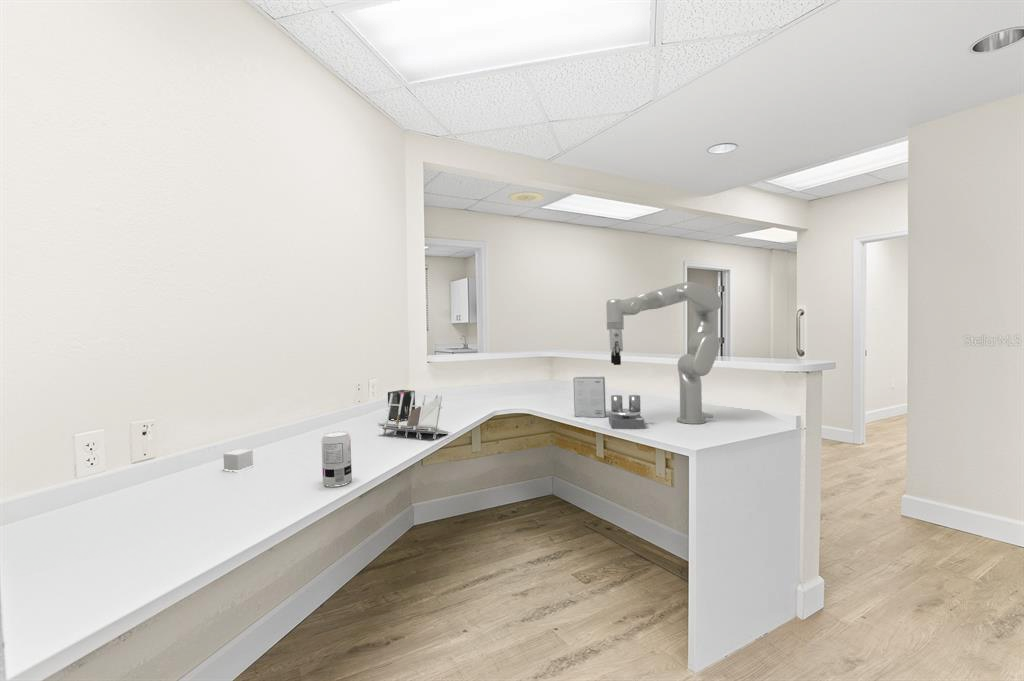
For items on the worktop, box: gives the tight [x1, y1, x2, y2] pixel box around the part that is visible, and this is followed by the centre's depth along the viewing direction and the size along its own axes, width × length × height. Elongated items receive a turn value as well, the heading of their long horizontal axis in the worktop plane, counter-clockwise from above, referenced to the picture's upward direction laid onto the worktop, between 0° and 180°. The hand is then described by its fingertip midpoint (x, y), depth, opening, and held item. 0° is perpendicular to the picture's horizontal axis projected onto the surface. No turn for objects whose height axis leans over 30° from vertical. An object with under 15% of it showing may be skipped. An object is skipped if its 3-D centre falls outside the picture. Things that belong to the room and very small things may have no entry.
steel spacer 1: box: [610, 394, 624, 412], centre depth 207 cm, size 5×5×7 cm
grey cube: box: [223, 448, 254, 470], centre depth 154 cm, size 6×6×6 cm
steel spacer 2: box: [628, 394, 641, 412], centre depth 206 cm, size 5×5×7 cm
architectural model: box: [376, 393, 450, 440], centre depth 197 cm, size 20×29×21 cm
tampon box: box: [387, 389, 416, 421], centre depth 235 cm, size 11×9×15 cm
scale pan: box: [610, 408, 641, 417], centre depth 207 cm, size 13×13×3 cm
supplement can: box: [321, 430, 353, 486], centre depth 137 cm, size 8×8×15 cm
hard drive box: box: [573, 376, 607, 418], centre depth 231 cm, size 16×8×20 cm, turn 74°
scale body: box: [608, 413, 645, 430], centre depth 207 cm, size 14×14×4 cm
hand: (615, 363), depth 207 cm, fingers open, 9 cm apart
